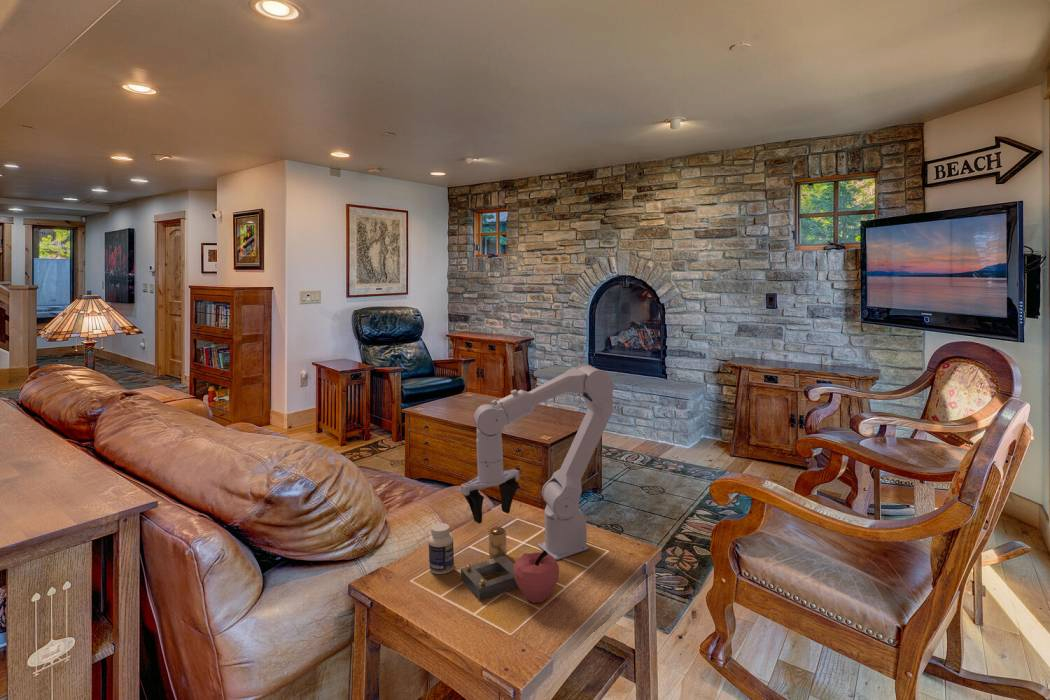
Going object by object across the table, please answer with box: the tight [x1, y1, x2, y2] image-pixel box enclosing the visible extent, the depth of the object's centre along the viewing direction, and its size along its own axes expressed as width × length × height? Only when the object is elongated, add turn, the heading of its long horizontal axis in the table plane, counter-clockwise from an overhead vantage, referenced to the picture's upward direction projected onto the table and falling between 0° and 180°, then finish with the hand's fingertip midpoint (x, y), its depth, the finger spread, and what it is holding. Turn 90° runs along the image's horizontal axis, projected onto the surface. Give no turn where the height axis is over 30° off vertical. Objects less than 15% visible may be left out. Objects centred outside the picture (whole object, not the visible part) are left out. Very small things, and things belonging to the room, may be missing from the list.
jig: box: [460, 555, 519, 601], centre depth 116 cm, size 11×9×4 cm
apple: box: [513, 550, 560, 604], centre depth 110 cm, size 10×9×10 cm
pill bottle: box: [428, 522, 455, 575], centre depth 122 cm, size 5×5×10 cm
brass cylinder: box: [488, 526, 508, 560], centre depth 127 cm, size 4×4×6 cm
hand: (492, 516), depth 125 cm, fingers open, 7 cm apart
